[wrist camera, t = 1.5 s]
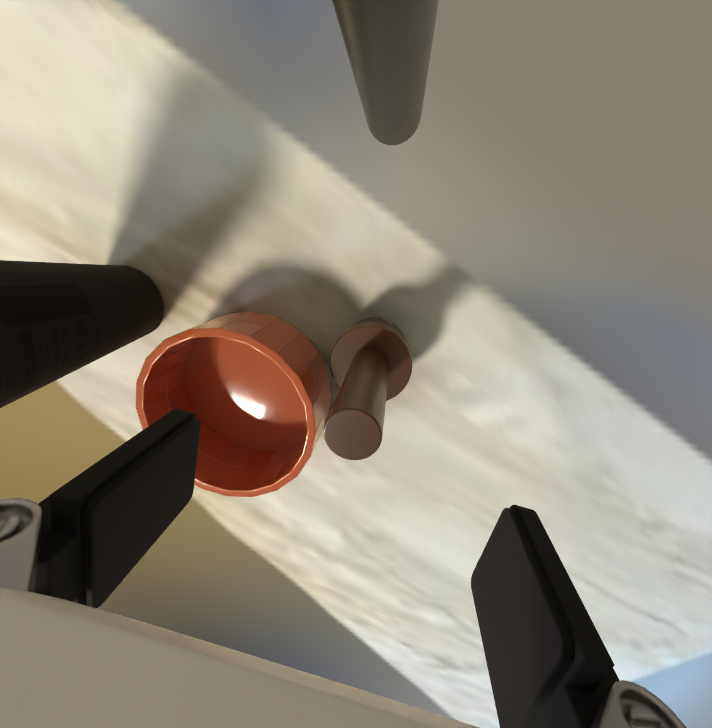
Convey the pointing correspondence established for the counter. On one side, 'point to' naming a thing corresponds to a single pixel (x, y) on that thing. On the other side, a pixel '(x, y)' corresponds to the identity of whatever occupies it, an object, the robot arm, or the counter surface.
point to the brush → (365, 385)
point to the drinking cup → (67, 319)
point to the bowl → (241, 399)
